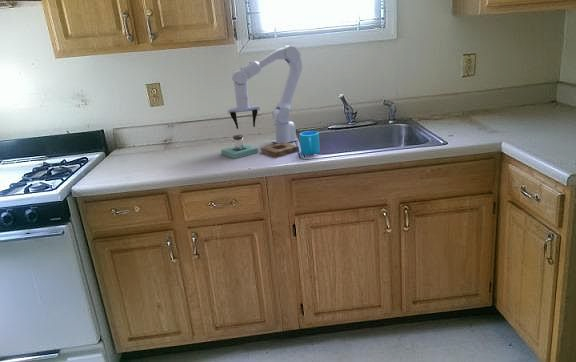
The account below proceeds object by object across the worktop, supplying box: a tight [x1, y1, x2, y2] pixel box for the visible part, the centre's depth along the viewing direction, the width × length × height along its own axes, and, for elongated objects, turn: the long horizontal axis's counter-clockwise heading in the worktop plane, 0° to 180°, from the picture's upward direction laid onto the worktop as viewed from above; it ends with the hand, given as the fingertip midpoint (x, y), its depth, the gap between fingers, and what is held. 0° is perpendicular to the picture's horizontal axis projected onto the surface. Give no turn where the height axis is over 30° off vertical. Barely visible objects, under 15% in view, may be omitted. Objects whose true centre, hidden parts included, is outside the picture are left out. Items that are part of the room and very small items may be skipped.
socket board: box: [220, 143, 259, 159], centre depth 201 cm, size 12×12×2 cm
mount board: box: [260, 142, 300, 158], centre depth 198 cm, size 12×12×2 cm
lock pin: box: [232, 134, 245, 151], centre depth 200 cm, size 5×5×8 cm
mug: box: [299, 130, 321, 155], centre depth 190 cm, size 12×8×8 cm
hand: (245, 127), depth 208 cm, fingers open, 7 cm apart
